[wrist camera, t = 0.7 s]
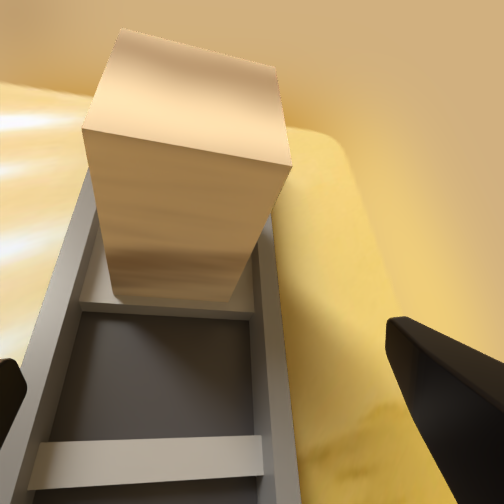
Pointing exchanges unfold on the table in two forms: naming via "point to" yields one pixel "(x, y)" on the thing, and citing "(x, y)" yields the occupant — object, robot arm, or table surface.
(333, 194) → the table surface
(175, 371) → the box
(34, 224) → the table surface
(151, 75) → the block
